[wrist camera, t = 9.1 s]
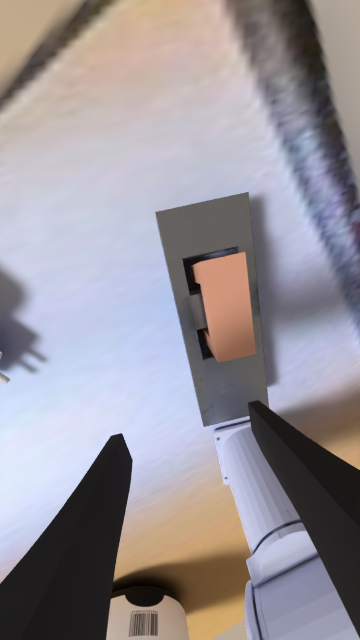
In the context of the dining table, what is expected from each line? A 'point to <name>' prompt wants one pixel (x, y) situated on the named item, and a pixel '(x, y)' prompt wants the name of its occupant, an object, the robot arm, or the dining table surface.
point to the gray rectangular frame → (188, 243)
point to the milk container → (146, 615)
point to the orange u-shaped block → (226, 306)
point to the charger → (3, 378)
